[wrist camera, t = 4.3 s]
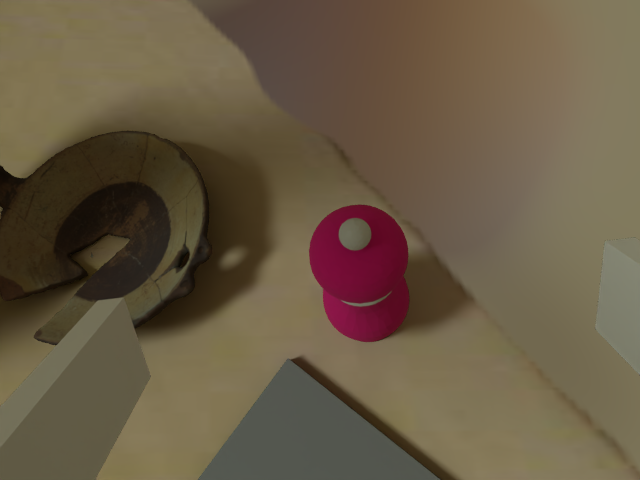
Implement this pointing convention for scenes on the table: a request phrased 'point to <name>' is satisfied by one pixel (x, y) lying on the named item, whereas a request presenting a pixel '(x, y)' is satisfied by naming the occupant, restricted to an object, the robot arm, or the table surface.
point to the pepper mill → (361, 271)
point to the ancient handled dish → (105, 226)
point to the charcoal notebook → (309, 439)
